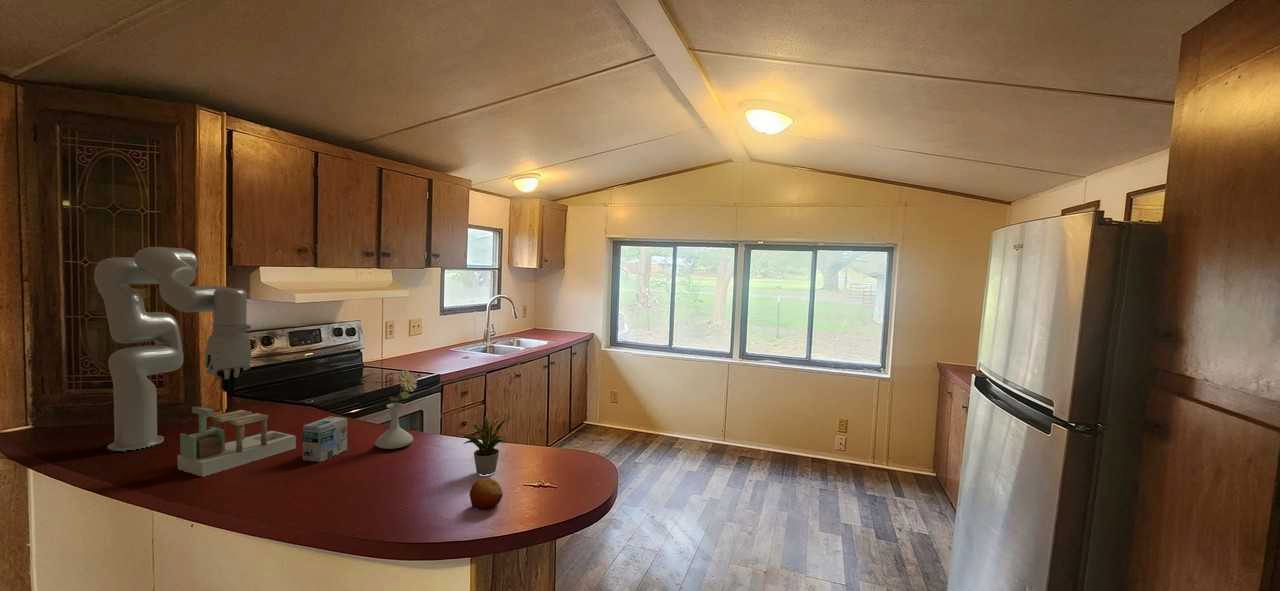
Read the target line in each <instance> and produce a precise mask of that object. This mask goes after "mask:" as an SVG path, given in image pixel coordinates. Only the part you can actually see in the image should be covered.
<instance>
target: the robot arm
mask: <svg viewBox="0 0 1280 591" xmlns="http://www.w3.org/2000/svg"><path fill="white" fill-rule="evenodd" d="M198 266H199V259H198V257H197V256H196V254H195V253H194V252H193V251H191V250H189V249H186V248H180V247H166V246H149V247H144V248H141V249H139V250H138V251H137V252H136V253H135V255H134V257H130V256H129V257H123V256H121V257H120V256H119V257H110V258H105V259H103V260H101V261H99V262H98V263H97V264H96V266H95V269H94V273H93V275H94V277H93V278H94V279H93V280H94V283H95V286H96V288H97V290H98V292H99V294H100V296H101V297H102V299H103V301H104V306H105V311H106V317H107V323H108V328H109V332H110V336H111V338H112V340H113V341H114V342H116V343H119V344H134V343H136V344H137V343H145V342H154V344H152V345H151V344H150V345H140V346H131V347H124V348H121V349H118V350H115V351H114V352H113V353H112V354H111V355H110V356H109V358H108V361H107V362H108V364H107V365H108V369H109V372H110V375H111V380H112V386H113V417H114V419H113V420H114V422H113V423H114V442H111V443H109V444H108V445H107V446H106V447H107V448H106V449H109V450H113V451H123V452H127V451H126V450H133V451H137V450H136V449H139V450H142V449H141V448H144V449H147V448H146V447H148V448H151V446H152V447H155V446H157V444H158V445H160V444H161V443H163V442H164V440H165V437H164V436H163V435H158V403H157V402H158V401H157V400H158V396H157V395H158V394H157V388H156V387H157V386H156V385H155V383H153V381H152V380H150V379H149V378H148V376H152V375H156V374H157V375H158V374H163V373H164V374H165V373H169V372H170V373H171V372H174V371H176V370H179V369H180V368H181V367H182V366H183V363H184V351H183V350H184V349H183V344H182V339H181V334H180V328H179V325H178V321H177V319H176V318H175V317H174V316H173V314H170V313H169V312H164V311H155V312H154V311H153V312H152V311H151V312H150V311H149V312H147V311H146V308H145V301H144V299H143V296H141V294H140V293H139V292H137V290H136V289H134V288H133V287H131V286H130V285H159V286H158V290H159V294H160V297H161V299H162V300H163V301H164V302H165V303H166V304H167V305H169V306H171V307H172V308H173V309H175V310H176V311H177V310H178V311H180V312H183V313H201V312H202V313H203V312H213V313H212V314H213V315H212V323H213V324H212V328H213V329H212V334H211V335H210V334H209V336H208V339H207V342H206V346H205V353H204V354H205V356H204V368H206V374H207V375H212V376H213V375H216V376H217V377H219V379H221V390H222V391H223V392H225V393H232V392H236V388H237V378H239V376H240V375H241V374H242V373H243V372H244V371H247V370H250V369H251V363H252V346H251V345H252V344H251V338H250V335H249V333H247V331H248V330H251V329H252V326H251V325H250V324H247V303H248V302H247V300H248V298H247V296H248V294H247V292H246V290H244V289H242V288H235V287H234V288H233V287H229V286H228V287H227V286H224V285H223V286H222V285H217V286H215V285H214V286H213V285H200V286H199V285H195V286H194V285H192V284H193V283H194V282H195V280H196V278H197V272H196V270H197V268H198ZM191 285H192V286H191ZM154 445H155V446H154ZM109 450H108V451H109ZM113 451H112V452H113Z"/></svg>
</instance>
